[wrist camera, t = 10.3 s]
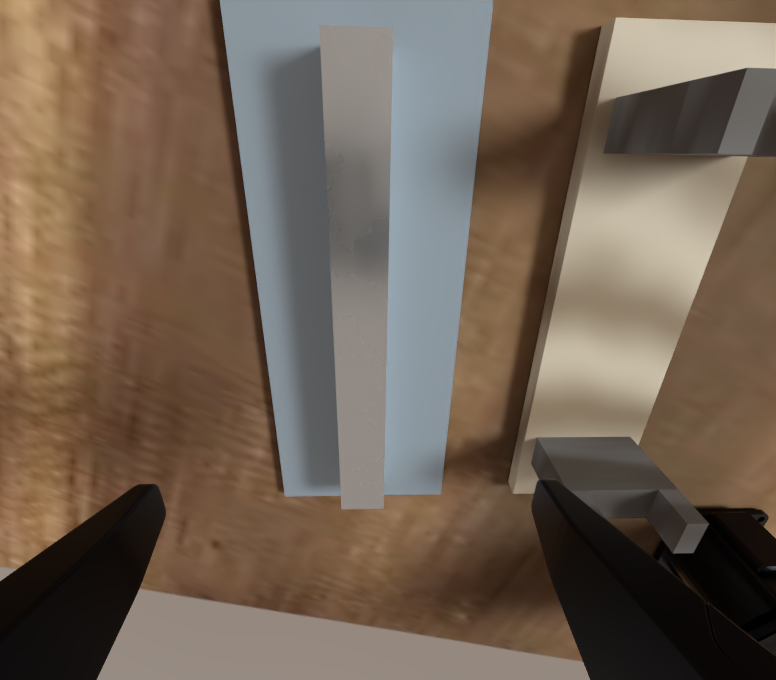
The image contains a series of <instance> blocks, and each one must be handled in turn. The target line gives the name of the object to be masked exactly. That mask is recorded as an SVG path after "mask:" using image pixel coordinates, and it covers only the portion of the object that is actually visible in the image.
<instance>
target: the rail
mask: <svg viewBox="0 0 776 680" xmlns="http://www.w3.org/2000/svg"><path fill="white" fill-rule="evenodd" d="M319 30H320V52H321V73H322V95H323V117H324V139H325V161H326V182H327V204H328V226H329V248H330V270H331V291H332V313H333V335H334V357H335V379H336V400H337V422H338V444H339V466H340V488H341V509H384V468H385V417H386V367H387V317H388V267H389V217H390V166H391V116H392V66H393V28H392V27H363V26H333V25H319Z"/></svg>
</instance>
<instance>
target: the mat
mask: <svg viewBox="0 0 776 680" xmlns="http://www.w3.org/2000/svg"><path fill="white" fill-rule="evenodd" d="M220 6H221V14H222V21H223V29H224V37H225V44H226V52H227V59H228V67H229V75H230V82H231V90H232V98H233V105H234V113H235V120H236V128H237V136H238V143H239V151H240V158H241V166H242V174H243V181H244V189H245V196H246V204H247V212H248V219H249V227H250V234H251V242H252V250H253V257H254V265H255V272H256V280H257V288H258V295H259V303H260V310H261V318H262V326H263V333H264V341H265V349H266V356H267V364H268V371H269V379H270V387H271V394H272V402H273V409H274V417H275V425H276V432H277V440H278V447H279V455H280V463H281V470H282V478H283V485H284V493H285V496H341V488H340V466H339V444H338V422H337V400H336V379H335V357H334V335H333V313H332V291H331V270H330V248H329V226H328V204H327V182H326V161H325V139H324V117H323V95H322V73H321V52H320V30H319V25H333V26H363V27H392V28H393V66H392V116H391V166H390V217H389V267H388V317H387V367H386V417H385V468H384V495H418V494H441V488H442V478H443V469H444V460H445V450H446V441H447V431H448V422H449V413H450V403H451V394H452V385H453V375H454V366H455V356H456V347H457V338H458V328H459V319H460V309H461V300H462V291H463V281H464V272H465V263H466V253H467V244H468V234H469V225H470V216H471V206H472V197H473V188H474V178H475V169H476V159H477V150H478V141H479V131H480V122H481V112H482V103H483V94H484V84H485V75H486V66H487V56H488V47H489V37H490V28H491V19H492V9H493V1H491V0H220Z"/></svg>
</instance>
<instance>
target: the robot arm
mask: <svg viewBox="0 0 776 680" xmlns="http://www.w3.org/2000/svg"><path fill="white" fill-rule="evenodd" d="M531 507H532V514H533V517H534V521H535V525H536V528H537V532H538V535H539V539H540V542H541V546H542V550H543V553H544V557H545V560H546V564H547V567H548V571H549V574H550V577H551V580H552V583H553V585H554V588H555V591H556V593H557V596H558V598H559V601H560V604H561V606H562V609H563V611H564V614H565V616H566V619H567V621H568V624H569V627H570V629H571V632H572V634H573V637H574V639H575V642H576V644H577V647H578V650H579V652H580V655H581V657H582V660H583V662H584V665H585V667H586V670H587V672H588V675H589V678H590V680H776V538H774V537H773V536H772V535H771V534H770V533H769V532H768V531H767V530H766V529H765V528H764V527H763V526H764V525H765V523H766V522H767V520H768V518H769V517H768V515H767V514H766V513H765V512H764V511H762V510H704V511H698V512H699V513H700V514H701V515H702V516H703V517H704V519H705V520H706V521H707V522H708V523H709V525H708V527H707V529H706V530H705V532H704V534H703V536H702V538H701V540H700V541H699V543H698V545H697V547H696V549H695V551H694V553H672V552H671V550H670V549H669V548H668V546H667V545H666V544H665V542H664V541H663V540H662V542H661V544H660V546H659V548H658V550H657V553H656V555H655V557H654V558H653V557H652V556H650V555H649V554H648V553H647V552H645V551H644V550H643V549H642V548H641V547H639V546H638V545H637V544H636V543H634V542H633V541H632V540H631V539H629V538H628V537H627V536H626V535H625V534H623V533H622V532H621V531H620V530H618V529H617V528H616V527H615V526H613V525H612V524H611V523H610V522H609V521H607V520H606V519H605V518H604V517H602V516H601V515H600V514H599V513H597V512H596V511H595V510H594V509H593V508H591V507H590V506H589V505H588V504H586V503H585V502H584V501H583V500H581V499H580V498H579V497H578V496H577V495H575V494H574V493H573V492H572V491H570V490H569V489H568V488H567V487H565V486H564V485H563V484H562V483H561V482H559V481H558V480H556V479H539V480H538V481H537V483H536V487H535V491H534V495H533V499H532V505H531ZM165 515H166V509H165V505H164V502H163V499H162V496H161V493H160V490H159V487H158V486H157V485H155V484H139V485H136V486H134V487H133V488H131V489H130V490H129V491H127V492H126V493H124V494H123V495H121V496H120V497H119V498H117V499H116V500H114V501H113V502H112V503H110V504H109V505H107V506H106V507H105V508H103V509H102V510H100V511H99V512H97V513H96V514H95V515H93V516H92V517H90V518H89V519H88V520H86V521H85V522H83V523H82V524H81V525H79V526H78V527H76V528H75V529H73V530H72V531H71V532H69V533H68V534H66V535H65V536H64V537H62V538H61V539H59V540H58V541H57V542H55V543H54V544H52V545H51V546H49V547H48V548H47V549H45V550H44V551H42V552H41V553H40V554H38V555H37V556H35V557H34V558H33V559H31V560H30V561H28V562H27V563H25V564H24V565H23V566H21V567H20V568H18V569H17V570H16V571H14V572H13V573H11V574H10V575H9V576H7V577H6V578H4V579H3V580H2V581H0V680H97V678H98V675H99V673H100V671H101V669H102V667H103V665H104V663H105V661H106V659H107V656H108V654H109V652H110V650H111V648H112V646H113V644H114V642H115V640H116V637H117V635H118V633H119V631H120V629H121V627H122V625H123V623H124V620H125V618H126V616H127V614H128V612H129V610H130V608H131V606H132V604H133V601H134V599H135V597H136V595H137V593H138V590H139V588H140V586H141V583H142V581H143V578H144V575H145V573H146V570H147V567H148V564H149V561H150V559H151V556H152V553H153V550H154V548H155V545H156V542H157V539H158V537H159V534H160V531H161V528H162V525H163V523H164V520H165Z"/></svg>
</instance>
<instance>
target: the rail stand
mask: <svg viewBox="0 0 776 680" xmlns="http://www.w3.org/2000/svg"><path fill="white" fill-rule="evenodd" d="M748 156H753V157H776V23H751V22H723V21H695V20H668V19H640V18H615V19H613V20H611V21H609V22H607V23H606V24H604V25H602V27H601V32H600V36H599V41H598V46H597V51H596V56H595V61H594V66H593V71H592V75H591V80H590V85H589V90H588V95H587V100H586V105H585V110H584V114H583V119H582V124H581V129H580V134H579V139H578V144H577V149H576V153H575V158H574V163H573V168H572V173H571V178H570V183H569V188H568V192H567V197H566V202H565V207H564V212H563V217H562V222H561V226H560V231H559V236H558V241H557V246H556V251H555V256H554V261H553V265H552V270H551V275H550V280H549V285H548V290H547V295H546V300H545V304H544V309H543V314H542V319H541V324H540V329H539V334H538V339H537V343H536V348H535V353H534V358H533V363H532V368H531V373H530V377H529V382H528V387H527V392H526V397H525V402H524V407H523V412H522V416H521V421H520V426H519V431H518V436H517V441H516V446H515V451H514V455H513V460H512V465H511V470H510V475H509V480H508V483H509V485H510V487H511V490H512V492H513V494H524V493H534V491H535V487H536V483H537V481H538V480H539V479H556V480H558V481H559V482H561V483H562V484H563V485H564V486H565V487H567V488H568V489H569V490H570V491H572V492H573V493H574V494H575V495H577V496H578V497H579V498H580V499H581V500H583V501H584V502H585V503H586V504H588V505H589V506H590V507H591V508H593V509H594V510H595V511H596V512H597V513H599V514H600V515H601V516H602V517H604V518H605V519H606V518H647V520H648V521H649V522H650V524H651V525H652V526H653V528H654V529H655V530H656V532H657V533H658V534H659V536H660V537H661V538H662V540H663V541H664V542H665V544H666V545H667V546H668V548H669V549H670V550H671V552H672V553H694V551H695V549H696V547H697V545H698V543H699V541H700V540H701V538H702V536H703V534H704V532H705V530H706V529H707V527H708V525H709V523H708V522H707V521H706V520H705V519H704V517H703V516H702V515H701V514H700V513H699V512H698V511H697V510H696V509H695V508H694V506H693V505H692V504H691V503H690V502H689V501H688V500H687V499H686V498H685V497H684V495H683V494H682V493H681V492H680V491H679V490H678V489H677V488H676V487H675V486H674V484H673V483H672V482H671V481H670V480H669V479H668V478H667V477H666V476H665V475H664V473H663V472H662V471H661V470H660V469H659V468H658V467H657V466H656V465H655V464H654V462H653V461H652V460H651V459H650V458H649V457H648V456H647V455H646V454H645V452H644V451H643V450H642V449H641V448H640V447H639V446H638V445H639V442H640V439H641V437H642V434H643V431H644V429H645V426H646V424H647V421H648V418H649V416H650V413H651V410H652V408H653V405H654V402H655V400H656V397H657V395H658V392H659V389H660V387H661V384H662V381H663V379H664V376H665V373H666V371H667V368H668V366H669V363H670V360H671V358H672V355H673V352H674V350H675V347H676V344H677V342H678V339H679V337H680V334H681V331H682V329H683V326H684V323H685V321H686V318H687V315H688V313H689V310H690V308H691V305H692V302H693V300H694V297H695V294H696V292H697V289H698V286H699V284H700V281H701V279H702V276H703V273H704V271H705V268H706V265H707V263H708V260H709V257H710V255H711V252H712V250H713V247H714V244H715V242H716V239H717V236H718V234H719V231H720V228H721V226H722V223H723V221H724V218H725V215H726V213H727V210H728V207H729V205H730V202H731V199H732V197H733V194H734V192H735V189H736V186H737V184H738V181H739V178H740V176H741V173H742V170H743V168H744V165H745V163H746V160H747V157H748Z"/></svg>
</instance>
